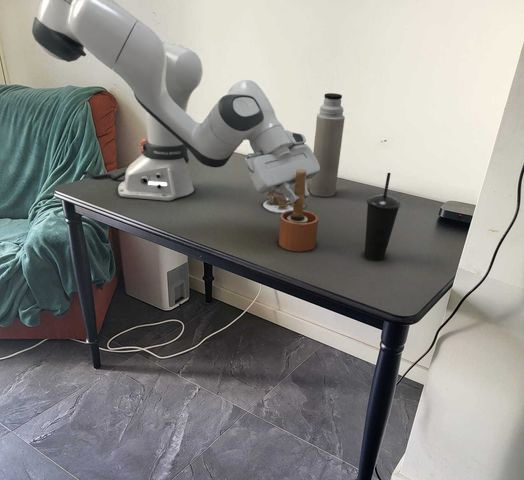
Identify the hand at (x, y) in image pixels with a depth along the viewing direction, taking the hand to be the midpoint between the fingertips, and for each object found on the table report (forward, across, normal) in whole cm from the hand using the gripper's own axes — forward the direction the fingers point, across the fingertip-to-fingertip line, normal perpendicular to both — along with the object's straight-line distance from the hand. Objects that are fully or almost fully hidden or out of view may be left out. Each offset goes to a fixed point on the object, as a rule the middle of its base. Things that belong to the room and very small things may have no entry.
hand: (300, 199), depth 123 cm
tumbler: (+8, 0, +8) cm, 11 cm away
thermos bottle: (-6, +35, +22) cm, 41 cm away
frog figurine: (-6, +16, +22) cm, 28 cm away
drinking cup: (+20, +8, -4) cm, 22 cm away
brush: (+6, 0, +6) cm, 8 cm away
